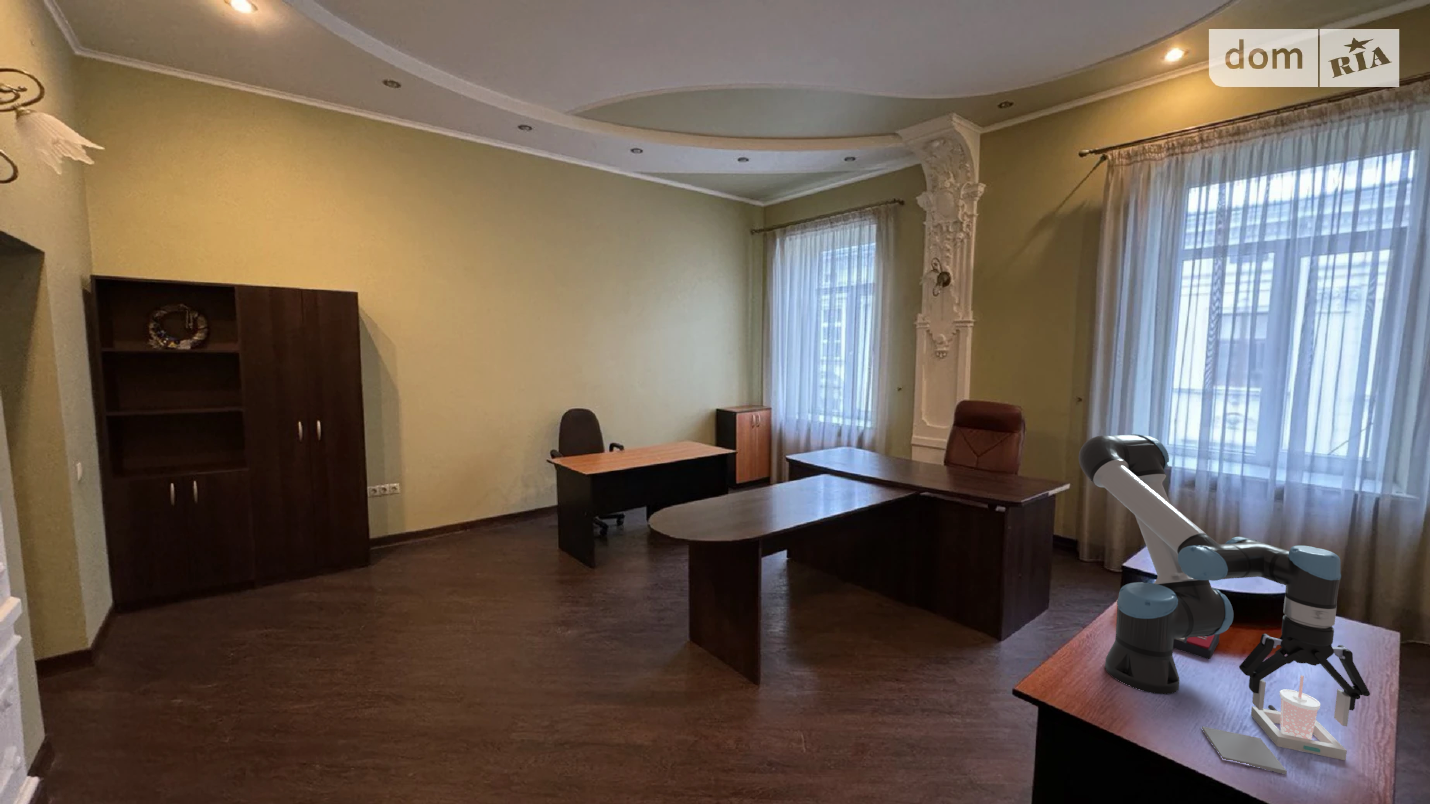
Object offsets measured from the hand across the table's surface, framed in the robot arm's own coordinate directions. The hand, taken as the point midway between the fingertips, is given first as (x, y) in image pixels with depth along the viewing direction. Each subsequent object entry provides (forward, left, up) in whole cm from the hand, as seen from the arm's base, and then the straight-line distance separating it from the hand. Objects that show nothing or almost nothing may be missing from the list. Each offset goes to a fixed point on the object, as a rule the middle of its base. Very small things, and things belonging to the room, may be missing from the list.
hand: (1298, 714), depth 120 cm
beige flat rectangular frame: (0, +2, -5) cm, 6 cm away
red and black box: (-6, +40, -6) cm, 41 cm away
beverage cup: (0, 0, -5) cm, 5 cm away
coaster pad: (-13, -10, -5) cm, 17 cm away
